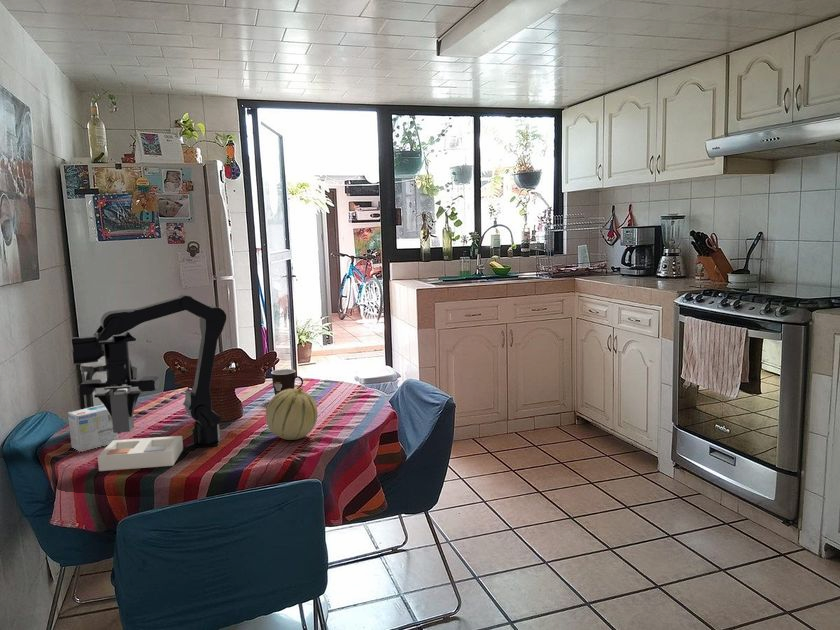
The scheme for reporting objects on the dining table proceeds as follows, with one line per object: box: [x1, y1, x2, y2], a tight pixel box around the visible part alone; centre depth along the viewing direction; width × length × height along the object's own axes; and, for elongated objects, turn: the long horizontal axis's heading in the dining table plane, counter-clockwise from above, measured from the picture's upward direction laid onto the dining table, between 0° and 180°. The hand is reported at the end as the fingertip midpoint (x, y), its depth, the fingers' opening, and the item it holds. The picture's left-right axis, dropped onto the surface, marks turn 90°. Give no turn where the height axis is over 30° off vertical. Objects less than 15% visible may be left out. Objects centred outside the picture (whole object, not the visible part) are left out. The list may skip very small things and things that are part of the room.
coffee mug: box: [270, 368, 304, 396], centre depth 219 cm, size 12×9×10 cm
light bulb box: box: [67, 404, 119, 452], centre depth 175 cm, size 11×7×11 cm, turn 141°
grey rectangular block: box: [110, 389, 135, 434], centre depth 162 cm, size 4×4×11 cm
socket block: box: [97, 435, 184, 472], centre depth 163 cm, size 18×12×4 cm, turn 99°
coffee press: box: [79, 344, 128, 409], centre depth 188 cm, size 17×16×30 cm
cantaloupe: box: [265, 387, 319, 441], centre depth 177 cm, size 15×15×15 cm
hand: (122, 417), depth 162 cm, fingers closed on grey rectangular block, 4 cm apart
